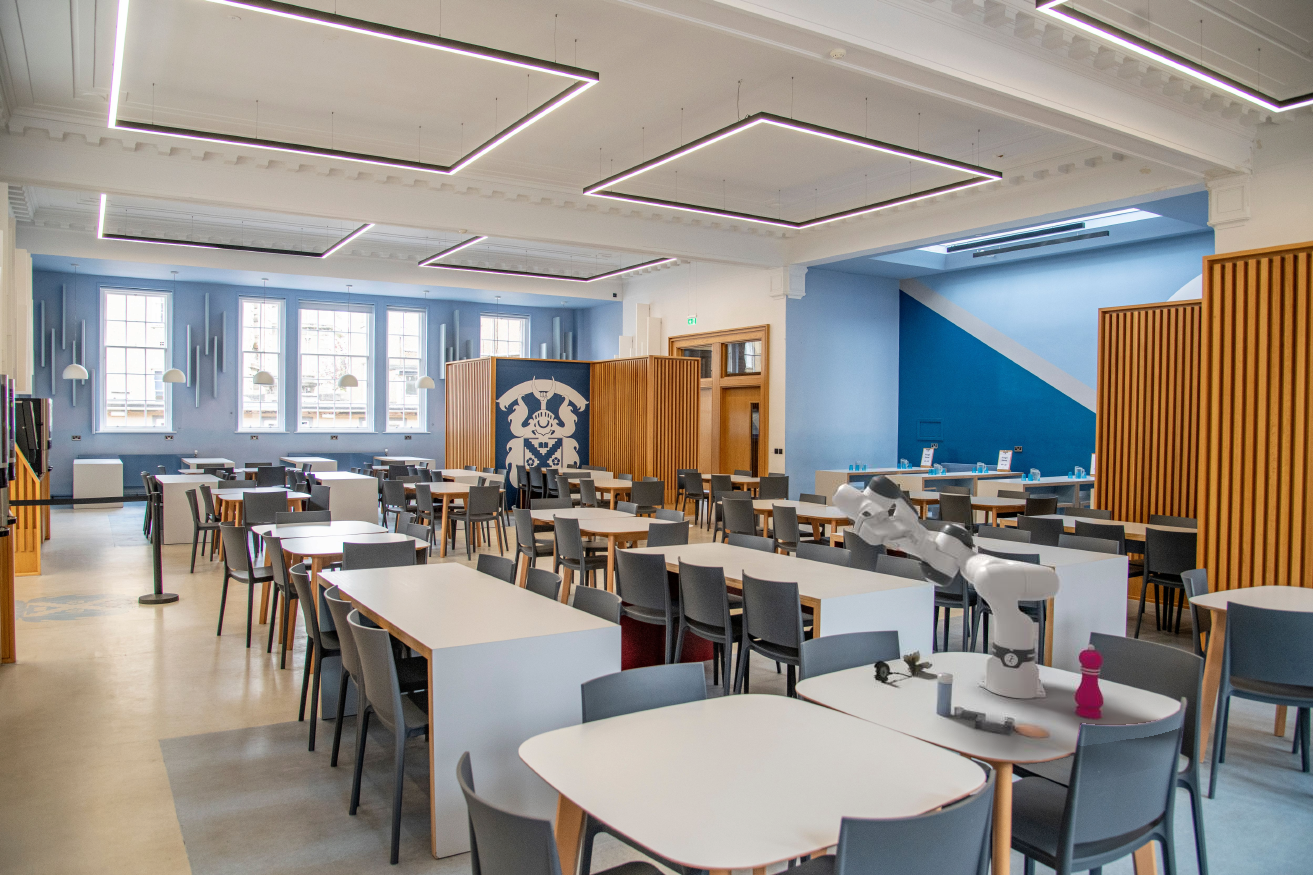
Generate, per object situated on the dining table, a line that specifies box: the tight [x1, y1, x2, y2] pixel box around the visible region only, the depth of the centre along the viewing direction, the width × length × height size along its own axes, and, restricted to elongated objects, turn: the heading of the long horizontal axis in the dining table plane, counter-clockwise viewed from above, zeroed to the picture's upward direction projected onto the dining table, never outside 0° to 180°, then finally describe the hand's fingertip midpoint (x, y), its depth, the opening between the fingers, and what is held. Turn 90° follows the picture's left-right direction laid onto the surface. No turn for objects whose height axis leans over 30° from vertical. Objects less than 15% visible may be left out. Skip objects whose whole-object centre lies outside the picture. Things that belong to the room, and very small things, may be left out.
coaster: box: [1014, 724, 1050, 739], centre depth 216 cm, size 8×8×1 cm
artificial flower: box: [873, 650, 934, 683], centre depth 262 cm, size 9×22×10 cm, turn 120°
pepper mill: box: [1074, 644, 1104, 720], centre depth 231 cm, size 7×7×20 cm
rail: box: [953, 706, 1015, 736], centre depth 220 cm, size 8×15×2 cm, turn 60°
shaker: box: [936, 671, 954, 717], centre depth 228 cm, size 4×4×11 cm
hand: (908, 545), depth 242 cm, fingers open, 8 cm apart
